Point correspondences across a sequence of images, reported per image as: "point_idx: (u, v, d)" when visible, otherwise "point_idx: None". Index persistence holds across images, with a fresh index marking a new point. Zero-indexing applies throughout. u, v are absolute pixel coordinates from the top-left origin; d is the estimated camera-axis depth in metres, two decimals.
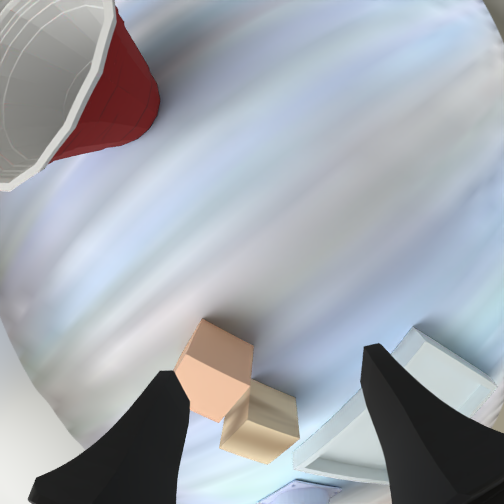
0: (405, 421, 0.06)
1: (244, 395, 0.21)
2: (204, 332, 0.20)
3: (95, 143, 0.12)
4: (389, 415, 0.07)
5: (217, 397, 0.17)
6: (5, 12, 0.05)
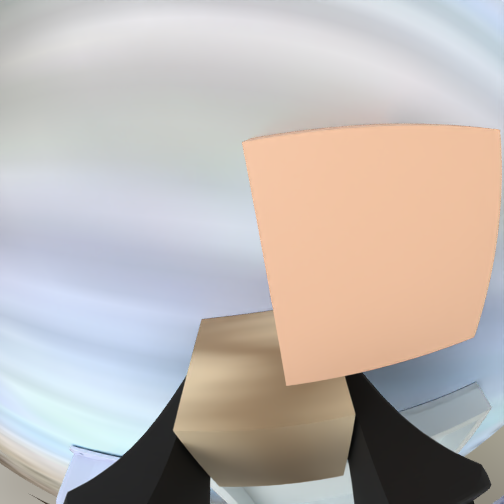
0: (360, 434, 0.06)
1: None
2: None
3: None
4: None
5: (404, 316, 0.05)
6: None
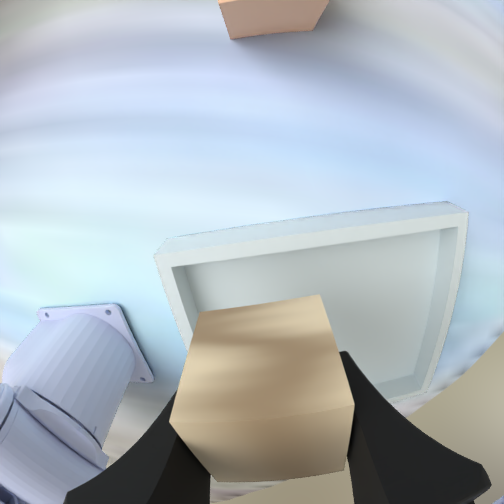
0: (360, 434, 0.06)
1: (299, 322, 0.09)
2: None
3: None
4: None
5: None
6: None
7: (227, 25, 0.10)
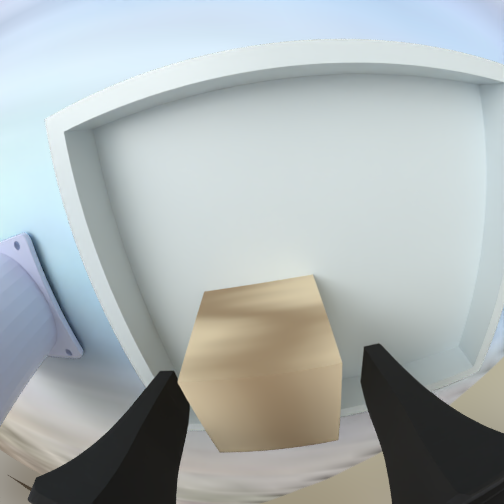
0: (405, 421, 0.06)
1: (294, 297, 0.10)
2: None
3: None
4: (389, 415, 0.07)
5: None
6: None
7: None
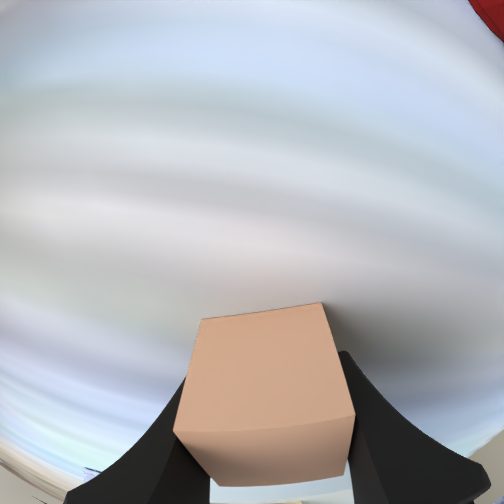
0: (360, 434, 0.06)
1: None
2: None
3: None
4: None
5: (279, 473, 0.07)
6: None
7: None
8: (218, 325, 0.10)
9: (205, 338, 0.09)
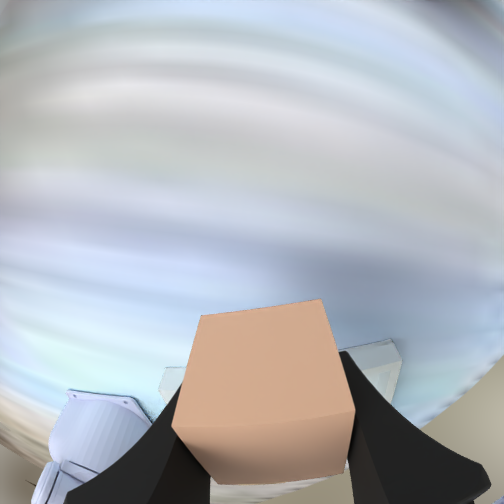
0: (360, 434, 0.06)
1: None
2: None
3: None
4: None
5: (278, 471, 0.07)
6: None
7: None
8: (217, 321, 0.10)
9: (204, 334, 0.09)
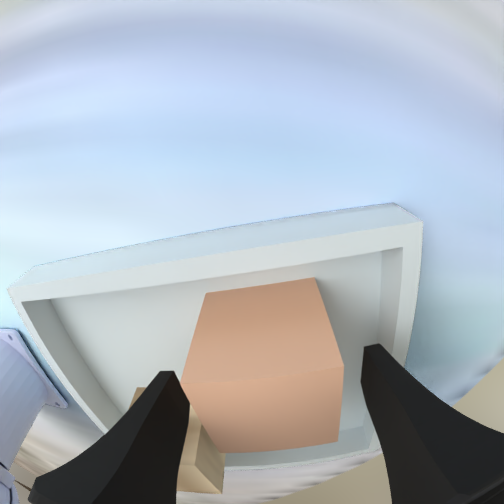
0: (405, 421, 0.06)
1: None
2: None
3: None
4: (389, 415, 0.07)
5: (276, 435, 0.08)
6: None
7: None
8: (221, 297, 0.11)
9: (209, 307, 0.11)
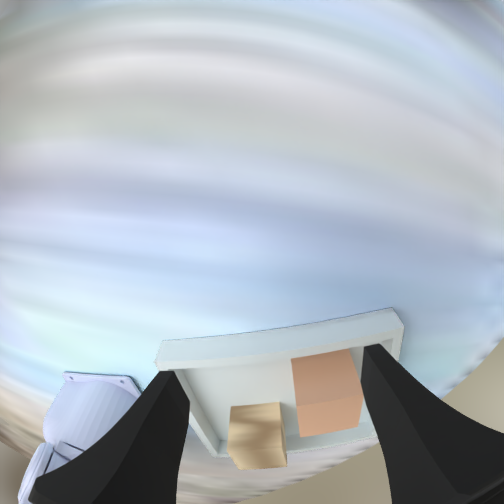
0: (405, 421, 0.06)
1: (269, 415, 0.22)
2: None
3: None
4: (389, 415, 0.07)
5: (331, 424, 0.17)
6: None
7: None
8: (300, 358, 0.20)
9: (296, 365, 0.20)
